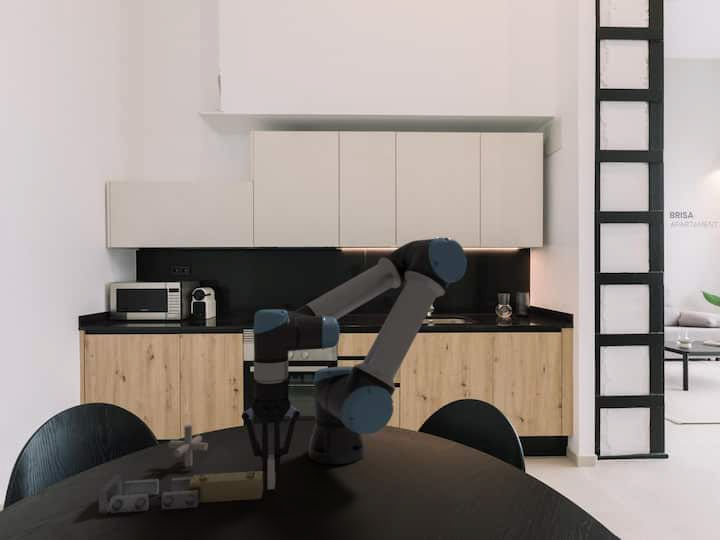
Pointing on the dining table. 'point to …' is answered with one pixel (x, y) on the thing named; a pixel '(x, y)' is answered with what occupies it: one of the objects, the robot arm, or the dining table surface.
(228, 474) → the link
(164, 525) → the dining table surface
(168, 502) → the chain end
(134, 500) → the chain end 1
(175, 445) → the pipe connector
